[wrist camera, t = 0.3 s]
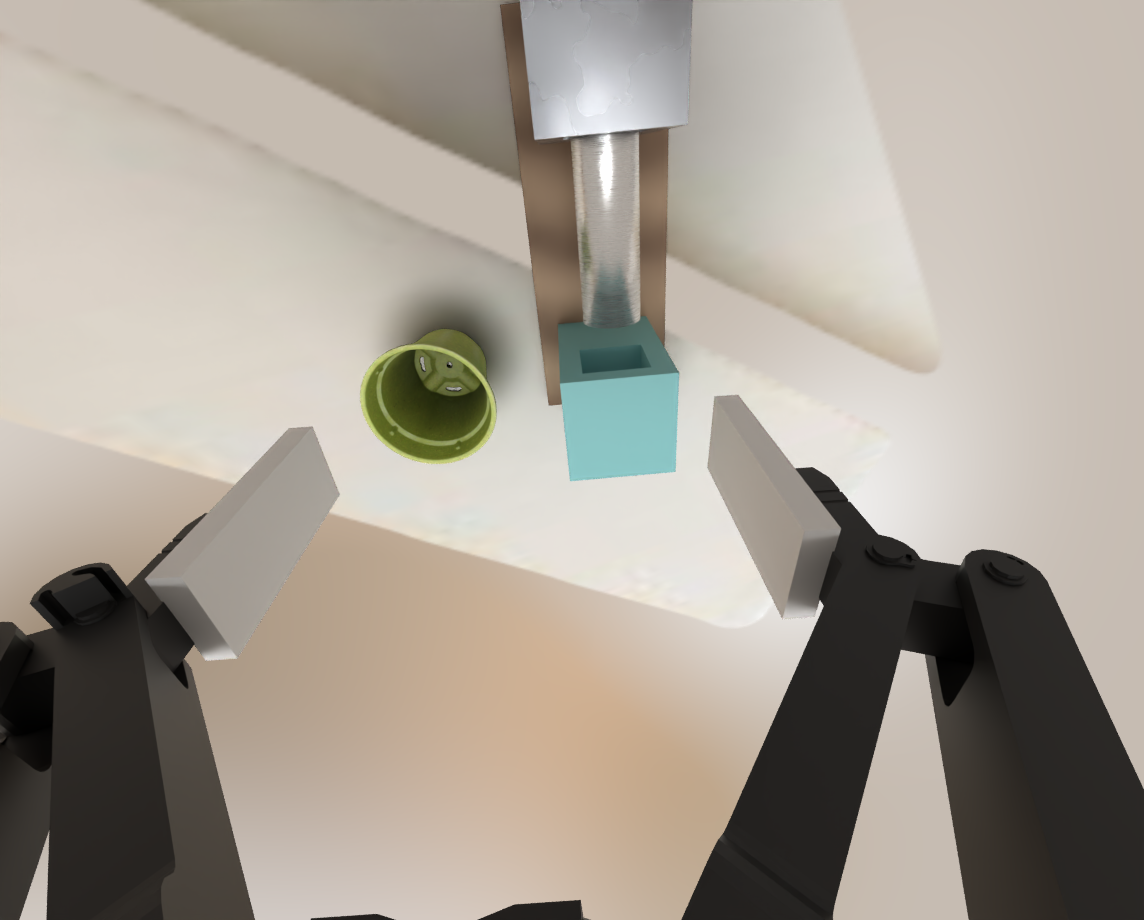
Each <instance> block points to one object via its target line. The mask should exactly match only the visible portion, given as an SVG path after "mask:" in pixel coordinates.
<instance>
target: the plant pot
mask: <svg viewBox="0 0 1144 920" xmlns="http://www.w3.org/2000/svg"><path fill="white" fill-rule="evenodd" d="M420 357H423V358H424V365H425V369H426V371H425V372H424V371H422V368H421V364H420ZM448 362H451V363H452V368H448V367H447V363H448ZM446 387H453V388H456V387H461V388H462V389H461V390H460V391H449V390H447V389H446ZM360 402H361V407H362V411H363V415H364V417H365V420H366V422H367V423H368V425H369V427H370V429H371V430H372V432H373V433H374V434H375V436H376V437H377V438H378V439H379V440H380V441H381V442H382V443H384V444H385V445H386V446H387V447H388V448H389V449H391V450H392V451H394V452H396V453H398V454H399V455H401V456H403V457H405V458H408V459H411V460H414V461H417V462H422V463H428V464H445V463H452V462H456V461H459V460H462V459H464V458H467V457H469V456H471V455H472V454H474V453H475V452H477V451H478V450H479V449H480V448H481V447H483V446H484V444H485V443H486V442H487V441H488V439H489V438H490V436H491V434H492V432H493V429H494V426H495V422H496V413H497V409H496V401H495V397H494V394H493V391H492V389H491V387H490V385H489V383H488V381H487V374H486V360H485V357H484V354H483V352H482V350H481V348H480V347H479V346H478V345H477V344H476V343H475V342H474V341H473V340H472V339H471V338H469V337H468V336H467V335H466V334H464V333H462V332H460V331H456V330H452V329H439V330H435V331H432V332H430V333H428V334H426V335H425V336H423V337H422V338H421V339H419V340H418V341H417V342H415V343H414V344H408V345H403V346H399V347H396V348H394V349H392V350H389V351H388V352H386V353H384V354H383V355H381V356H380V357H379V358H377V359H376V360H375V361H374V362H373V364H372V365H371V366H370V367H369V369H368V370H367V372H366V374H365V376H364V378H363V381H362V385H361V390H360Z"/></svg>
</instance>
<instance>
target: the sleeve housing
mask: <svg viewBox="0 0 1144 920" xmlns="http://www.w3.org/2000/svg"><path fill="white" fill-rule="evenodd" d="M520 8H521V17H522V27H523V36H524V46H525V56H526V65H527V75H528V84H529V94H530V103H531V113H532V122H533V132H534V140H535V141H536V142H538V143H539V144H550V143H560V142H570V141H571V140H570V137H575V136H585V135H595V134H605V133H615V132H625V131H635V130H639V135H640V134H647V133H652V132H656V131H661V130H665V129H670V128H674V127H679V126H683V125H688V109H689V81H690V53H691V25H692V0H520Z"/></svg>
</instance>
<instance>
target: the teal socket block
mask: <svg viewBox="0 0 1144 920" xmlns="http://www.w3.org/2000/svg"><path fill="white" fill-rule="evenodd" d="M558 340H559V371H560V389H561V399H562V408H563V418H564V427H565V437H566V446H567V456H568V465H569V475H570V481H577V480H589V479H600V478H611V477H622V476H634V475H645V474H656V473H667V472H675V469H676V442H677V414H678V386H679V372H678V370H677V368H676V367H675V365H674V363H673V362H672V360H671V358H670V356H669V355H668V353H667V351H666V349H665V348H664V346H663V344H662V343H661V341H660V339H659V337H658V336H657V334H656V332H655V331H654V329H653V327H652V325H651V324H650V322H649V320H648V318H647V317H646V316H641V317H640V320H639V321H638V322H637V323H635V324H632V325H629V326H625V327H620V328H608V329H606V328H594V327H590V326H587V325H585V324H584V322H577V323H566V324H558Z"/></svg>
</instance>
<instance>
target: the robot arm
mask: <svg viewBox="0 0 1144 920" xmlns="http://www.w3.org/2000/svg"><path fill="white" fill-rule="evenodd" d="M707 468H708V470H709V472H710V474H711V476H712V478H713V480H714V482H715V484H716V486H717V488H718V490H719V492H720V494H721V496H722V498H723V500H724V502H725V504H726V506H727V508H728V510H729V512H730V514H731V516H732V518H733V520H734V522H735V524H736V526H737V528H738V530H739V532H740V534H741V536H742V538H743V540H744V542H745V544H746V546H747V548H748V550H749V553H750V555H751V557H752V559H753V561H754V563H755V565H756V567H757V569H758V571H759V573H760V575H761V577H762V579H763V581H764V583H765V585H766V587H767V589H768V591H769V593H770V595H771V597H772V599H773V601H774V603H775V605H776V607H777V609H778V611H779V613H780V615H781V617H782V619H791V618H792V619H793V618H806V617H815V614H816V610H817V607H818V604H819V601H820V600H821V602H822V604H823V605H824V607H823V609H822V612H821V614H820V616H819V619H818V621H817V623H816V625H815V627H814V630H813V632H812V634H811V637H810V639H809V641H808V643H807V646H806V648H805V650H804V652H803V655H802V657H801V659H800V662H799V664H798V666H797V668H796V671H795V673H794V675H793V677H792V680H791V682H790V684H789V686H788V689H787V691H786V693H785V696H784V698H783V700H782V702H781V705H780V707H779V709H778V711H777V714H776V716H775V718H774V721H773V723H772V725H771V727H770V730H769V732H768V734H767V737H766V739H765V741H764V743H763V746H762V748H761V750H760V752H759V755H758V757H757V759H756V761H755V764H754V766H753V768H752V771H751V773H750V775H749V777H748V780H747V782H746V784H745V787H744V789H743V791H742V793H741V796H740V798H739V800H738V802H737V805H736V807H735V809H734V811H733V814H732V816H731V818H730V821H729V823H728V825H727V827H726V829H725V831H724V833H723V835H722V836H721V837H720V838H719V839H718V841H717V843H716V845H715V847H714V849H713V851H712V853H711V855H710V857H709V859H708V861H707V864H706V866H705V868H704V870H703V872H702V875H701V877H700V879H699V881H698V884H697V886H696V888H695V890H694V893H693V895H692V897H691V899H690V902H689V904H688V906H687V908H686V911H685V913H684V915H683V917H682V920H833V910H834V905H835V901H836V897H837V893H838V889H839V885H840V881H841V878H842V874H843V870H844V866H845V862H846V858H847V854H848V851H849V846H850V843H851V839H852V835H853V831H854V828H855V824H856V820H857V816H858V812H859V808H860V805H861V801H862V797H863V793H864V789H865V785H866V781H867V778H868V774H869V770H870V766H871V762H872V758H873V755H874V751H875V747H876V743H877V739H878V735H879V732H880V728H881V724H882V720H883V716H884V712H885V708H886V705H887V701H888V697H889V693H890V689H891V685H892V682H893V678H894V674H895V670H896V666H897V662H898V659H899V655H900V651H901V650H906V651H911V652H916V653H921V654H925V658H926V663H927V669H928V676H929V682H930V688H931V693H932V699H933V706H934V712H935V718H936V724H937V730H938V736H939V742H940V748H941V754H942V761H943V766H944V772H945V779H946V785H947V791H948V797H949V802H950V809H951V815H952V820H953V827H954V833H955V839H956V845H957V851H958V857H959V863H960V869H961V875H962V882H963V888H964V894H965V900H966V906H967V912H968V918H969V920H1144V789H1143V787H1142V785H1141V782H1140V780H1139V778H1138V776H1137V774H1136V772H1135V770H1134V767H1133V765H1132V763H1131V761H1130V759H1129V756H1128V754H1127V752H1126V750H1125V748H1124V746H1123V744H1122V742H1121V740H1120V737H1119V735H1118V733H1117V731H1116V728H1115V726H1114V724H1113V722H1112V720H1111V718H1110V716H1109V713H1108V711H1107V709H1106V707H1105V705H1104V703H1103V700H1102V698H1101V696H1100V694H1099V692H1098V690H1097V687H1096V685H1095V683H1094V681H1093V679H1092V677H1091V675H1090V672H1089V670H1088V668H1087V666H1086V664H1085V662H1084V660H1083V657H1082V655H1081V653H1080V651H1079V649H1078V647H1077V644H1076V642H1075V640H1074V638H1073V636H1072V634H1071V632H1070V629H1069V627H1068V625H1067V623H1066V621H1065V618H1064V617H1063V614H1062V612H1061V610H1060V608H1059V606H1058V603H1057V601H1056V599H1055V597H1054V595H1053V593H1052V591H1051V588H1050V587H1049V584H1048V582H1047V580H1046V579H1045V578H1044V577H1043V575H1042V574H1041V572H1040V571H1038V570H1037V569H1036V568H1034V567H1033V566H1032V565H1030V564H1029V563H1028V562H1026V561H1024V560H1022V559H1020V558H1017V557H1015V556H1013V555H1010V554H1007V553H1003V552H1000V551H995V550H984V549H981V550H976V551H971V552H970V553H969V554H968V555H966V556H965V558H964V560H963V562H962V564H961V565H954V564H947V563H941V562H934V561H928V560H923V559H920V557H919V556H918V554H917V553H916V552H915V551H914V550H913V549H912V548H910V547H909V546H907V545H906V544H905V543H903V542H901V541H898V540H896V539H894V538H891V537H887V536H882V535H878V534H877V533H876V532H875V530H874V529H873V528H872V527H871V526H870V524H869V523H868V522H867V521H866V520H865V519H864V517H863V516H862V515H861V514H860V513H859V512H858V510H857V509H856V508H855V507H854V506H853V505H852V503H851V502H848V499H847V498H846V496H845V495H844V494H843V493H842V492H840V491H839V488H838V487H837V486H836V485H835V484H834V482H833V481H832V480H831V479H830V478H829V477H828V476H826V475H824V474H823V473H821V472H820V471H818V470H816V469H815V468H813V467H809V468H796V469H795V468H794V467H793V465H792V464H791V463H790V461H789V460H788V459H787V458H786V456H785V455H784V454H783V452H782V451H781V450H780V448H779V447H778V446H777V445H776V443H775V442H774V441H773V439H772V438H771V437H770V436H769V434H768V433H767V432H766V430H765V429H764V428H763V426H762V425H761V424H760V423H759V421H758V420H757V419H756V417H755V416H754V415H753V413H752V412H751V411H750V410H749V408H748V407H747V406H746V404H745V403H744V402H743V400H742V399H741V398H740V397H739V395H730V396H717V397H715V398H714V408H713V417H712V427H711V437H710V447H709V457H708V467H707ZM339 495H340V494H339V492H338V489H337V487H336V484H335V482H334V479H333V477H332V474H331V472H330V469H329V467H328V464H327V462H326V459H325V457H324V454H323V452H322V449H321V447H320V444H319V442H318V439H317V437H316V434H315V432H314V429H313V427H301V428H289V429H288V430H287V431H286V432H285V433H284V434H283V435H282V436H281V437H280V438H279V439H278V441H277V442H276V443H275V444H274V445H273V446H272V447H271V448H270V449H269V450H268V451H267V452H266V453H265V454H264V455H263V456H262V457H261V458H260V459H259V460H258V461H257V462H256V463H255V465H254V466H253V467H252V468H251V469H250V470H249V471H248V472H247V473H246V474H245V475H244V476H243V477H242V478H241V479H240V480H239V481H238V482H237V483H236V484H235V485H234V486H233V488H232V489H231V490H230V491H229V492H228V493H227V494H226V495H225V496H224V497H223V498H222V499H221V500H220V501H219V502H218V503H217V504H216V505H215V506H214V507H213V508H212V509H211V510H210V512H209V513H205V514H203V515H202V516H200V517H199V518H197V519H196V520H194V521H193V522H191V523H190V524H188V525H187V526H185V527H184V529H182V531H180V533H179V534H178V535H177V536H176V537H175V538H174V539H173V542H170V543H169V544H168V545H167V546H166V547H165V548H164V549H163V550H162V553H161V554H158V555H157V556H156V557H155V558H154V559H153V560H152V561H151V562H150V563H149V564H148V565H147V566H146V567H145V568H144V569H143V570H142V571H141V572H140V573H139V574H138V575H137V576H136V577H135V578H134V579H133V580H132V581H131V582H130V583H129V585H127V586H126V585H125V584H124V582H123V581H122V580H121V579H120V577H119V576H118V575H117V573H116V572H115V571H114V570H113V569H112V567H111V566H110V565H109V564H105V563H94V564H88V565H85V566H81V567H78V568H75V569H72V570H70V571H68V572H66V573H64V574H62V575H60V576H58V577H56V578H55V579H53V580H52V581H50V582H49V583H47V584H46V585H44V586H43V587H42V588H41V589H40V590H39V591H38V592H37V593H36V594H34V596H33V598H32V600H31V602H30V604H31V605H32V606H33V607H34V608H35V609H36V610H37V611H38V612H39V613H40V615H41V616H42V617H43V618H44V619H45V620H46V621H47V622H48V623H49V624H50V625H51V626H52V627H53V628H51V629H48V630H44V631H40V632H37V633H34V634H30V635H25V634H24V633H23V632H22V631H21V630H20V629H19V628H18V627H17V626H16V625H15V624H14V623H12V622H0V920H19V919H20V916H21V913H22V910H23V907H24V904H25V901H26V898H27V895H28V892H29V889H30V886H31V883H32V880H33V877H34V874H35V871H36V868H37V865H38V862H39V859H40V856H41V853H42V850H43V847H44V844H45V841H46V838H47V835H48V832H50V833H49V861H48V862H49V863H48V890H47V891H48V892H47V920H255V918H254V914H253V910H252V906H251V902H250V898H249V895H248V890H247V886H246V882H245V878H244V874H243V871H242V867H241V863H240V859H239V855H238V851H237V847H236V843H235V839H234V835H233V831H232V827H231V823H230V819H229V815H228V811H227V807H226V803H225V799H224V795H223V791H222V788H221V784H220V780H219V776H218V772H217V768H216V764H215V760H214V756H213V752H212V748H211V744H210V741H209V736H208V732H207V728H206V725H205V720H204V717H203V713H202V709H201V705H200V701H199V697H198V693H197V689H196V685H195V681H194V677H193V673H192V669H191V667H190V666H189V664H188V663H187V662H186V661H185V660H184V658H185V656H186V655H187V654H188V652H189V651H190V650H191V648H192V647H193V645H195V647H196V648H197V649H198V651H199V652H200V653H201V655H202V656H203V657H204V659H205V660H206V661H207V660H221V659H236V658H238V657H239V655H240V654H241V652H242V651H243V649H244V647H245V646H246V644H247V642H248V641H249V639H250V638H251V636H252V634H253V633H254V631H255V630H256V628H257V626H258V625H259V623H260V622H261V620H262V618H263V617H264V615H265V613H266V612H267V610H268V609H269V607H270V606H271V604H272V602H273V601H274V599H275V598H276V596H277V594H278V593H279V591H280V590H281V588H282V586H283V585H284V583H285V582H286V580H287V578H288V577H289V575H290V574H291V572H292V570H293V569H294V567H295V565H296V564H297V562H298V561H299V559H300V557H301V556H302V554H303V553H304V551H305V549H306V548H307V546H308V545H309V543H310V541H311V540H312V538H313V537H314V535H315V533H316V532H317V530H318V528H319V527H320V525H321V524H322V522H323V521H324V519H325V517H326V516H327V514H328V513H329V511H330V509H331V508H332V506H333V505H334V503H335V501H336V500H337V498H338V497H339ZM311 920H394V919H391V918H388V917H385V916H382V915H378V914H370V915H355V916H341V917H327V918H312V919H311ZM478 920H589V919H586V918H583V912H582V906H581V900H574V901H560V902H545V903H531V904H516V905H512V906H510V907H507V908H505V909H502V910H500V911H498V912H496V913H493V914H491V915H488V916H486V917H483V918H481V919H478Z"/></svg>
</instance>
